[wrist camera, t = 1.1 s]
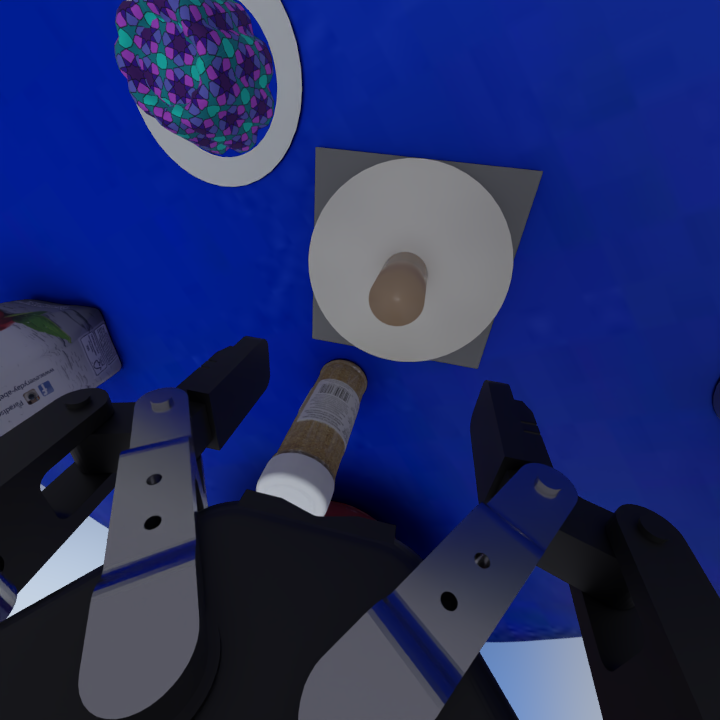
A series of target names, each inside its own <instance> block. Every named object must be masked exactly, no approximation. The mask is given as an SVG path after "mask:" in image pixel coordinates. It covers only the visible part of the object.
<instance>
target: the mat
mask: <svg viewBox="0 0 720 720" xmlns="http://www.w3.org/2000/svg"><path fill="white" fill-rule="evenodd" d="M404 158H414V157H404V156H395V155H386V154H376V153H367V152H358V151H348V150H339V149H330V148H320V147H316V159H315V217H314V228H315V225H316V222H317V220H318V218H319V216H320V214H321V212H322V210H323V208H324V207H325V206H326V204H327V203H328V201H329V200H330V198H331V197H332V196H333V195H334V194H335V193H336V191H337V190H338V189H339V188H340V187H341V186H342V185H344V184H345V183H346V182H347V181H348V180H350V179H351V178H352V177H354V176H355V175H357V174H359V173H360V172H362V171H363V170H365V169H368V168H370V167H372V166H374V165H377V164H380V163H383V162H387V161H391V160H396V159H404ZM422 159H423V158H422ZM429 160H432V159H429ZM434 161H439V162H442V163H445V164H448V165H451V166H454V167H455V168H457V169H459V170H461V171H463V172H465V173H467V174H468V175H469V176H471V177H472V178H473V179H475V180H476V181H477V182H479V183H480V184H481V185H482V186H483V187H484V188H485V189H486V190H487V191H488V192H489V193H490V194H491V196H492V197H493V199H494V200H495V202H496V203H497V204H498V206H499V207H500V209H501V211H502V213H503V215H504V217H505V219H506V222H507V225H508V228H509V231H510V234H511V240H512V246H513V260H514V257H515V254H516V251H517V248H518V245H519V242H520V239H521V236H522V233H523V230H524V227H525V224H526V221H527V218H528V215H529V212H530V209H531V206H532V203H533V200H534V197H535V194H536V191H537V188H538V185H539V182H540V179H541V176H542V173H543V171H535V170H526V169H517V168H507V167H498V166H489V165H479V164H470V163H460V162H451V161H442V160H434ZM494 318H495V317H494ZM493 321H494V319H493V320H492V321H491V323H490V324H489V325H488V326H487V327H486V328H485V329H484V330H483V331H482V332H481V333H480V334H479V335H478V336H477V337H476V338H475V339H473V340H472V341H471V342H470V343H468V344H466V345H465V346H463V347H462V348H460V349H458V350H456V351H454V352H452V353H450V354H448V355H445V356H442V357H439V358H435V359H430V360H432V361H438V362H443V363H449V364H454V365H460V366H465V367H470V368H476V369H478V366H479V363H480V360H481V357H482V354H483V351H484V348H485V345H486V342H487V339H488V336H489V333H490V330H491V327H492V324H493ZM312 338H313V339H319V340H324V341H329V342H335V343H340V344H346V345H351V346H354V345H353V344H351V343H350V342H348V341H347V340H346V339H345V338H343V337H342V336H341V335H340V334H339V333H338V332H337V331H336V330H335V329H334V328H333V327H332V325H331V324H330V323H329V321H328V320H327V319H326V317H325V316H324V314H323V312H322V311H321V309H320V307H319V305H318V303H317V300H316V298H315V296H314V292H313V332H312Z"/></svg>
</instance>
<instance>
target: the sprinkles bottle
mask: <svg viewBox="0 0 720 720" xmlns="http://www.w3.org/2000/svg"><path fill="white" fill-rule="evenodd" d="M366 388H367V380H366V376H365V374H364V372H363V371H362V370H361V369H360V367H359V366H357V365H356V364H354V363H352V362H349V361H346V360H334V361H331V362H329V363H327V364H325V365H324V367H323V368H322V370H321V371H320V376H319V378H318V380H317V381H316V383H315V385H314V387H313V388H312V389H311V390H310V392H309V394H308V395H307V397H306V399H305V401H304V402H303V404H302V406H301V408H300V410H299V412H298V415H297V417H296V418H295V420H294V422H293V424H292V426H291V428H290V429H289V431H288V433H287V435H286V436H285V439H284V440H283V443H282V444H281V446H280V448H279V450H278V452H277V453H276V454H275V455H274V456H273V457H272V459H270V461H269V462H268V463H267V465H266V467H265V469H264V471H263V473H262V474H261V476H260V478H259V480H258V482H257V486H256V492H260V493H264V494H268V495H272V496H276V497H280V498H283V499H285V500H287V501H289V502H290V503H292V504H294V505H296V506H298V507H300V508H301V509H303V510H305V511H307V512H309V513H311V514H312V515H315V516H324V515H325V514H326V512H327V509H328V507H329V504H330V501H331V498H332V495H333V492H334V484H335V477H336V473H337V471H338V468H339V464H340V462H341V459H342V456H343V454H344V452H345V449H346V446H347V443H348V440H349V437H350V434H351V431H352V428H353V425H354V422H355V419H356V416H357V413H358V410H359V404H360V401H361V398H362V395H363V394H364V392H365V390H366Z"/></svg>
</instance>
